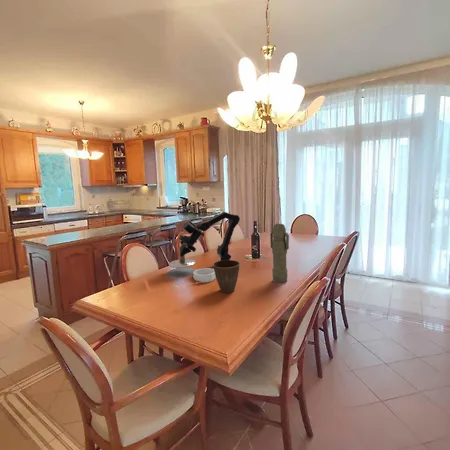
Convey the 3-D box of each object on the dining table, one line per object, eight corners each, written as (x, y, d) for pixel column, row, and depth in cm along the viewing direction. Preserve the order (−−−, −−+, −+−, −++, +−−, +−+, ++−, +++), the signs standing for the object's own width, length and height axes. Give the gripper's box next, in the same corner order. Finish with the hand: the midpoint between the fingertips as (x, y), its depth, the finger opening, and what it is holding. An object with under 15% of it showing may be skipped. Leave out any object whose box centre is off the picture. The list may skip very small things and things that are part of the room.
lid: (190, 258, 206) (189, 242, 204) (199, 264, 190) (198, 247, 188) (165, 262, 198) (164, 246, 197) (173, 269, 182) (171, 251, 181)
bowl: (216, 275, 191) (216, 268, 190) (214, 282, 177) (214, 274, 176) (195, 275, 191) (195, 268, 191) (192, 283, 178) (191, 275, 177)
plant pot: (232, 297, 153) (230, 269, 150) (209, 293, 161) (207, 265, 158) (245, 288, 165) (244, 261, 163) (223, 284, 173) (222, 258, 171)
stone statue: (286, 284, 168) (285, 226, 163) (268, 281, 175) (267, 224, 170) (292, 279, 176) (291, 223, 170) (274, 276, 182) (273, 222, 177)
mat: (197, 268, 207) (197, 267, 206) (193, 278, 187) (193, 276, 187) (170, 269, 208) (170, 268, 207) (163, 279, 188) (163, 277, 188)
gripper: (181, 228, 201) (167, 246, 198) (190, 232, 184) (174, 251, 181) (192, 238, 206) (178, 255, 202) (202, 242, 189) (187, 261, 186)
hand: (179, 255), depth 193 cm, fingers closed on lid, 3 cm apart
